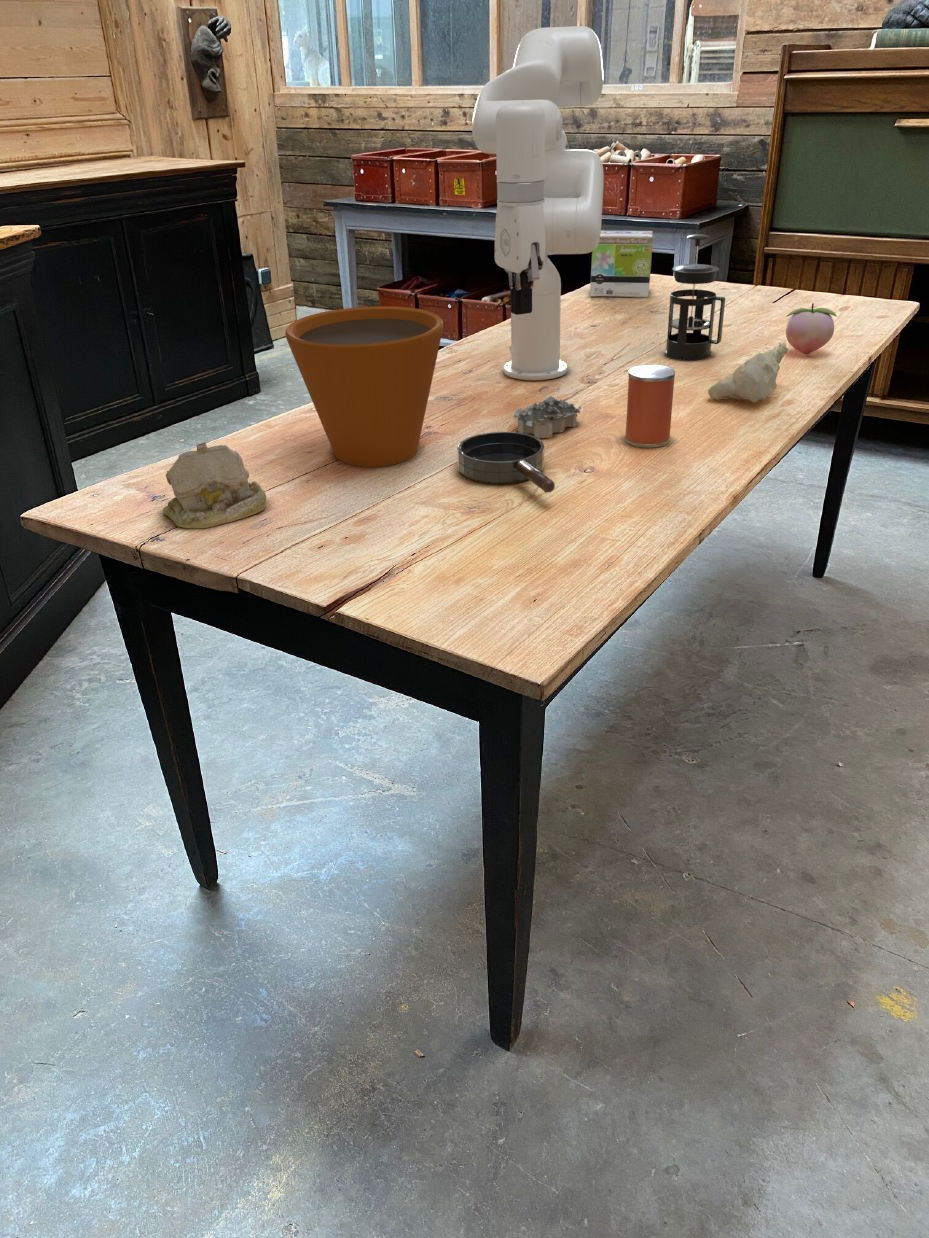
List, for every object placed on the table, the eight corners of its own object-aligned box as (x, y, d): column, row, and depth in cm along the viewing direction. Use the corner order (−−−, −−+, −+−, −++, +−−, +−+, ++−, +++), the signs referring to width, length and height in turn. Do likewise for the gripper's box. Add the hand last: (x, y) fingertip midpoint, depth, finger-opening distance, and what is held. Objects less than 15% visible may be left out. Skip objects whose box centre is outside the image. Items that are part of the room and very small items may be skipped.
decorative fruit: (824, 348, 193) (832, 298, 188) (833, 359, 186) (842, 307, 181) (777, 348, 194) (784, 298, 189) (785, 359, 187) (792, 308, 182)
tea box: (589, 298, 240) (591, 236, 233) (591, 289, 249) (593, 230, 241) (649, 298, 238) (653, 235, 230) (649, 289, 247) (652, 229, 239)
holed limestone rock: (727, 425, 162) (805, 369, 156) (703, 390, 162) (780, 333, 156) (734, 423, 176) (805, 373, 170) (711, 391, 176) (782, 340, 170)
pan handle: (514, 471, 136) (514, 459, 135) (525, 469, 137) (525, 457, 136) (545, 495, 129) (545, 483, 128) (557, 493, 129) (557, 480, 128)
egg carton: (542, 441, 153) (542, 417, 150) (509, 431, 157) (508, 408, 155) (584, 424, 159) (585, 400, 157) (551, 415, 163) (551, 392, 161)
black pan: (445, 462, 146) (444, 440, 144) (520, 448, 150) (520, 426, 148) (479, 491, 136) (478, 468, 134) (559, 475, 140) (559, 452, 138)
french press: (654, 357, 192) (662, 237, 180) (671, 346, 199) (681, 230, 187) (709, 364, 186) (722, 241, 175) (725, 352, 193) (738, 233, 181)
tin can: (616, 437, 153) (620, 369, 147) (653, 430, 155) (658, 362, 150) (640, 451, 147) (644, 380, 142) (678, 443, 150) (684, 373, 144)
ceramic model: (171, 535, 127) (155, 466, 122) (159, 505, 136) (144, 439, 130) (273, 515, 131) (263, 447, 126) (255, 487, 140) (245, 422, 135)
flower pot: (286, 439, 158) (268, 318, 147) (418, 416, 165) (410, 299, 155) (325, 489, 139) (308, 353, 128) (472, 460, 146) (467, 330, 136)
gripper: (479, 190, 152) (482, 307, 162) (520, 200, 140) (520, 325, 150) (521, 187, 155) (521, 301, 164) (564, 196, 143) (562, 319, 152)
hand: (521, 312), depth 157 cm, fingers closed
